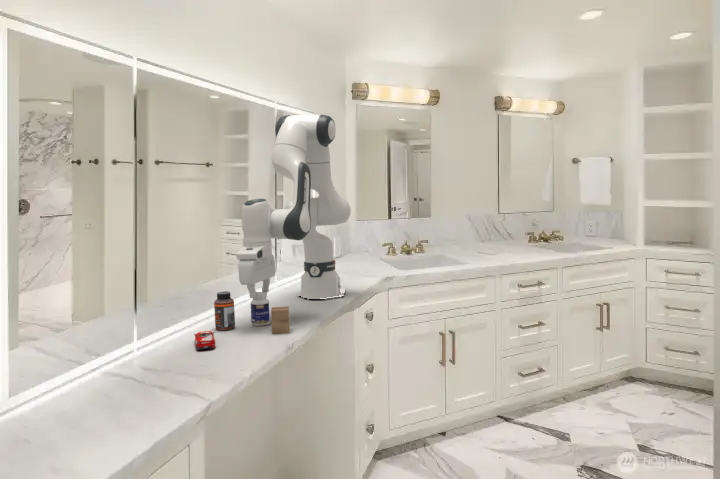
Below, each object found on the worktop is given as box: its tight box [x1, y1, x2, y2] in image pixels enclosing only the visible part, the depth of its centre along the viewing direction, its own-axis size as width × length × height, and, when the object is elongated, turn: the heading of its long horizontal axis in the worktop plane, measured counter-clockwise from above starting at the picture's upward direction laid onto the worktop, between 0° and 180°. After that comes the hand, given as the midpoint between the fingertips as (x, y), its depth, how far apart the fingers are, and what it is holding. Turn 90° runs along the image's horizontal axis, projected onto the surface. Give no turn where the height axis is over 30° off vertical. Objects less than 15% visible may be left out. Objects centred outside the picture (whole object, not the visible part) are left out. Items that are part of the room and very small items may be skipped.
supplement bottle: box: [213, 291, 236, 332], centre depth 165 cm, size 6×6×11 cm
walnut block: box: [270, 305, 290, 335], centre depth 160 cm, size 5×5×7 cm
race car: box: [193, 330, 217, 351], centre depth 148 cm, size 13×5×4 cm, turn 17°
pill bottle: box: [250, 291, 271, 327], centre depth 170 cm, size 6×6×10 cm
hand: (259, 295), depth 169 cm, fingers open, 8 cm apart
